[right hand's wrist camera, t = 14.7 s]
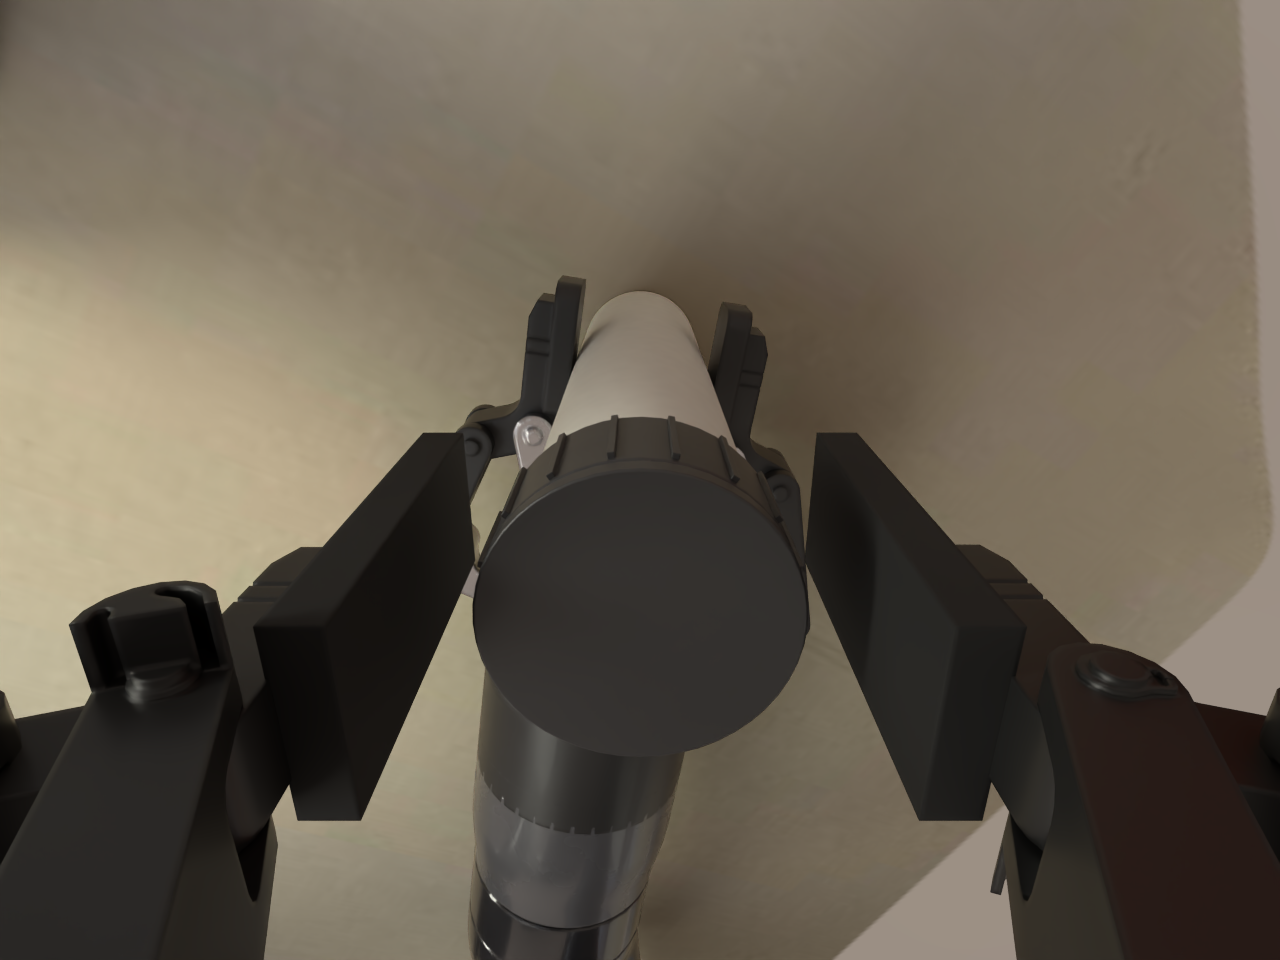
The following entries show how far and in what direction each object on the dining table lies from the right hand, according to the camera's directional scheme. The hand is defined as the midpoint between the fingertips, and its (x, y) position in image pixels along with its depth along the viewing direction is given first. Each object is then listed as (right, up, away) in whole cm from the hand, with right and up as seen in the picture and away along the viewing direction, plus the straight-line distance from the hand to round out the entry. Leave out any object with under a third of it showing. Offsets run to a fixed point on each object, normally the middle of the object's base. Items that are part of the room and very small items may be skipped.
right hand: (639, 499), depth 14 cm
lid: (0, -1, -4) cm, 4 cm away
